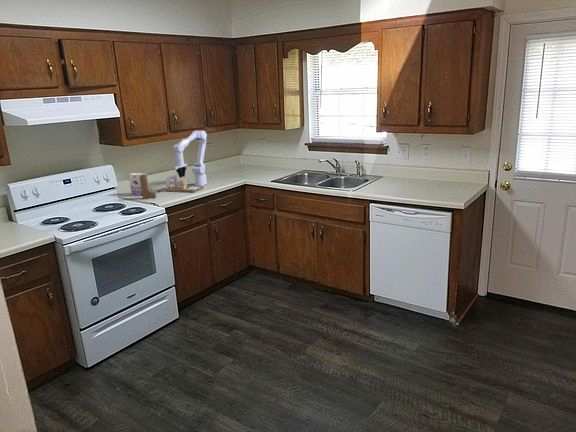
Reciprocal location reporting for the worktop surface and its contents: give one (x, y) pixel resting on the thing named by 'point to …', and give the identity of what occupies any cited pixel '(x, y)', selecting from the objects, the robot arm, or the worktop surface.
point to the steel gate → (170, 179)
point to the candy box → (135, 183)
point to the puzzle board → (177, 189)
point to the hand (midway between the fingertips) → (182, 177)
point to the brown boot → (146, 188)
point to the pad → (192, 188)
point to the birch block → (182, 184)
